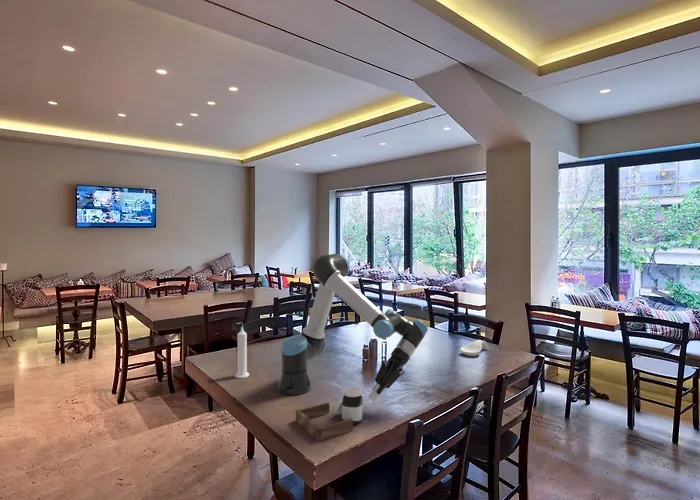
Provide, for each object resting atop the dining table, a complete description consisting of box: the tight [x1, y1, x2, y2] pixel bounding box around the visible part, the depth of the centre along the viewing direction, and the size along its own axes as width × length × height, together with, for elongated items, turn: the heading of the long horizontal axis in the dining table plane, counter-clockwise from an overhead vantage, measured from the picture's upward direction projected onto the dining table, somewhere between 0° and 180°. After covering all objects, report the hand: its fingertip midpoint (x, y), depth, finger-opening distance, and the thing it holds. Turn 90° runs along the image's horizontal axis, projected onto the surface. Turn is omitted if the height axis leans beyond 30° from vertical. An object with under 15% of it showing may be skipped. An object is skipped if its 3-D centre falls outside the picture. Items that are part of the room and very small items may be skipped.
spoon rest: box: [460, 339, 490, 357], centre depth 243 cm, size 24×12×7 cm, turn 133°
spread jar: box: [334, 386, 364, 425], centre depth 154 cm, size 12×11×12 cm
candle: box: [234, 326, 250, 379], centre depth 200 cm, size 7×7×25 cm
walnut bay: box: [295, 401, 354, 442], centre depth 148 cm, size 18×14×4 cm
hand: (371, 399), depth 160 cm, fingers closed
